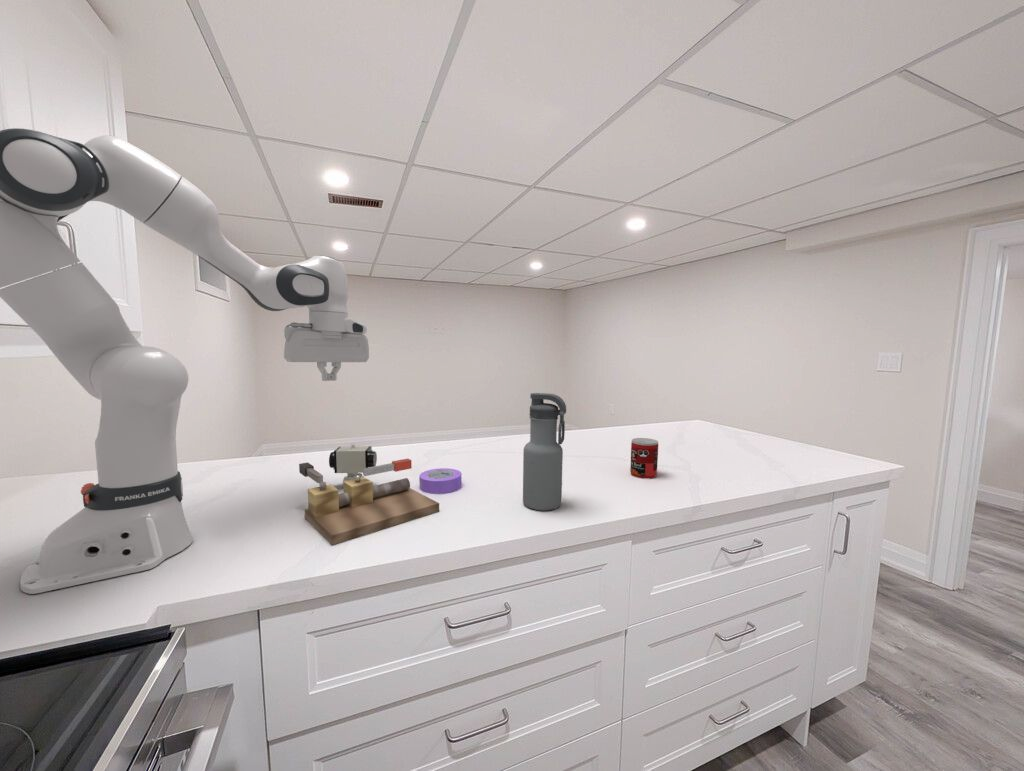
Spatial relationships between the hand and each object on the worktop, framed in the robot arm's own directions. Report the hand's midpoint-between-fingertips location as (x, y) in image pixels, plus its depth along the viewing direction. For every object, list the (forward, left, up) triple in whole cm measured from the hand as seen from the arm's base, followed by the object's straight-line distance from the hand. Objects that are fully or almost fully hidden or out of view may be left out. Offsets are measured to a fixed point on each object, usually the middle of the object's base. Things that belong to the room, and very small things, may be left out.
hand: (329, 380), depth 102 cm
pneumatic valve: (+8, +6, -31) cm, 32 cm away
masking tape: (+26, -10, -31) cm, 42 cm away
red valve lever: (+8, -12, -23) cm, 27 cm away
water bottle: (+38, -38, -31) cm, 62 cm away
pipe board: (+3, -11, -30) cm, 33 cm away
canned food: (+79, -43, -31) cm, 95 cm away
